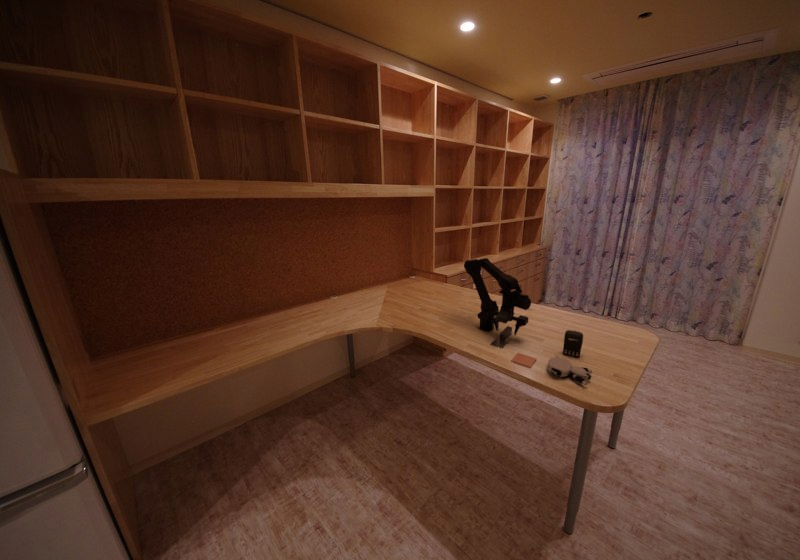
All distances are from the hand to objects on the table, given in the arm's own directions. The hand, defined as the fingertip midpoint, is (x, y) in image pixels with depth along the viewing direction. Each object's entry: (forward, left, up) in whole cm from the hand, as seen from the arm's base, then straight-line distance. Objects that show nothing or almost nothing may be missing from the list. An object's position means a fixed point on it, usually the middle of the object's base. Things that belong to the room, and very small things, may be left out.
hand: (505, 332), depth 146 cm
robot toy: (+31, -17, -3) cm, 35 cm away
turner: (0, -3, -3) cm, 4 cm away
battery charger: (+29, 0, -3) cm, 29 cm away
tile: (+14, -13, -2) cm, 19 cm away
